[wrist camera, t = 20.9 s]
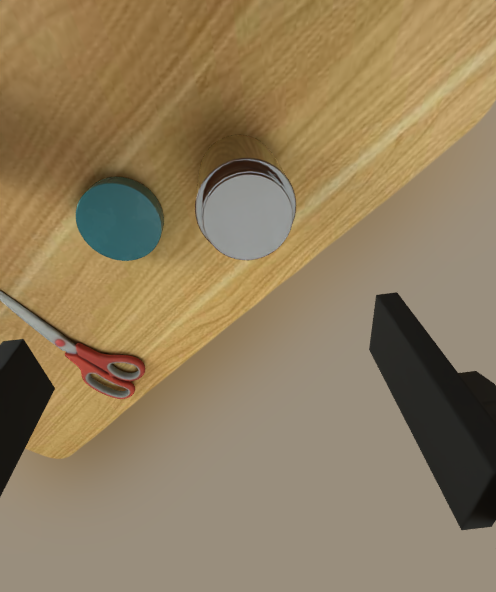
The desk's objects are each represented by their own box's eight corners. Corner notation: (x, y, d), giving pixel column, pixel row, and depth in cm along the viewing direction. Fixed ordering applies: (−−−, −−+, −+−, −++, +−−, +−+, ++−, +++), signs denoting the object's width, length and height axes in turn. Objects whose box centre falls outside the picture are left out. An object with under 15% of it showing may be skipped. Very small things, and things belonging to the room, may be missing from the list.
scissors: (-9, 282, 37) (-17, 290, 36) (157, 365, 46) (155, 373, 45) (-35, 326, 40) (-42, 334, 39) (126, 396, 49) (124, 404, 48)
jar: (291, 155, 33) (321, 192, 24) (257, 225, 36) (271, 279, 27) (216, 119, 30) (217, 144, 21) (187, 197, 34) (179, 247, 25)
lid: (104, 158, 31) (97, 164, 30) (178, 206, 34) (177, 214, 33) (69, 224, 34) (62, 233, 33) (141, 263, 38) (137, 273, 36)
